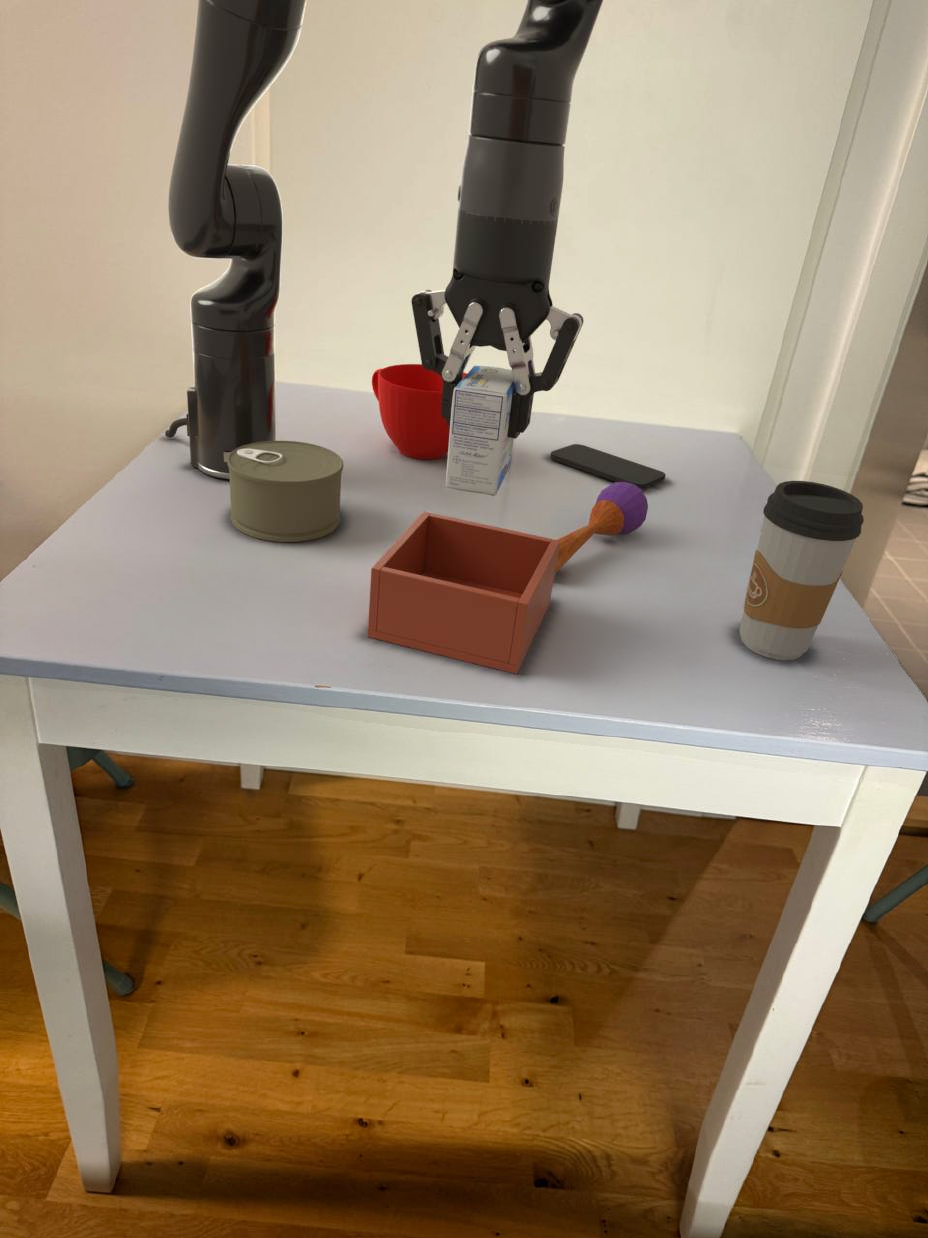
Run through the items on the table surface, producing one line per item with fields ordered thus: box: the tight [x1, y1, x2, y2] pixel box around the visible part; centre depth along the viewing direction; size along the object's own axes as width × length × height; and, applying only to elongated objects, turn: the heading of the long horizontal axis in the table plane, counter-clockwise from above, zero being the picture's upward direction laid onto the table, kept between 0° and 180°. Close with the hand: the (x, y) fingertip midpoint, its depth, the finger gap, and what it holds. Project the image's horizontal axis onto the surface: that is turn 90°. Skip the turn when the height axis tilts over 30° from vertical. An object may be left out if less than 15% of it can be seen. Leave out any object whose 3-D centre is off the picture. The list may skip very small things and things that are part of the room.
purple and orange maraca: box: [555, 482, 649, 574], centre depth 98 cm, size 6×6×20 cm
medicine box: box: [445, 365, 516, 497], centre depth 75 cm, size 8×4×9 cm, turn 169°
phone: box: [549, 443, 666, 490], centre depth 122 cm, size 7×1×15 cm
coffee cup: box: [739, 480, 865, 661], centre depth 81 cm, size 8×8×15 cm
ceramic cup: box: [371, 363, 468, 460], centre depth 120 cm, size 13×17×10 cm
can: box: [227, 440, 344, 543], centre depth 96 cm, size 12×12×7 cm
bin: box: [367, 511, 560, 675], centre depth 81 cm, size 14×14×7 cm
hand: (483, 428), depth 75 cm, fingers closed on medicine box, 4 cm apart
